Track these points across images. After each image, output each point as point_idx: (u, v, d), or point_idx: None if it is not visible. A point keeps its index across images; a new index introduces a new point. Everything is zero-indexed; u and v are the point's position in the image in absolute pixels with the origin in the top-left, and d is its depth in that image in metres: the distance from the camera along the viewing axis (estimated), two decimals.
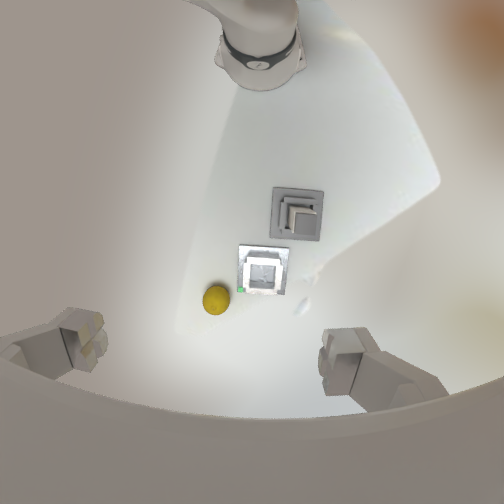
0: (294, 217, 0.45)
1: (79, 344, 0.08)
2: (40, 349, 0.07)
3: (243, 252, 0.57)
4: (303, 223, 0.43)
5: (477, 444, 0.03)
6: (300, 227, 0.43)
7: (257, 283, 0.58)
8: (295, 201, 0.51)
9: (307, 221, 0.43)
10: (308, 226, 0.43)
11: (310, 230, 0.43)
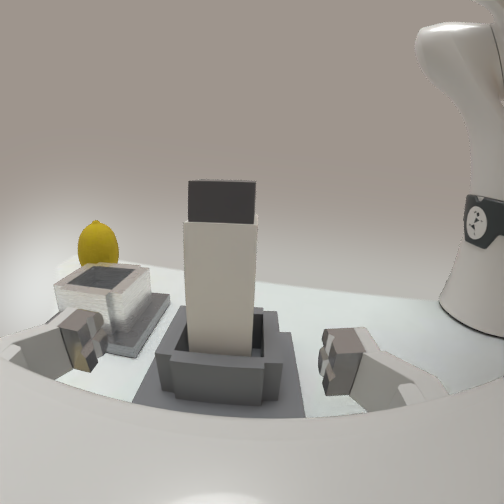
0: None
1: (79, 344, 0.08)
2: (40, 349, 0.07)
3: (154, 296, 0.28)
4: (229, 180, 0.15)
5: (477, 444, 0.03)
6: None
7: None
8: (268, 326, 0.18)
9: None
10: (220, 180, 0.14)
11: (207, 180, 0.14)
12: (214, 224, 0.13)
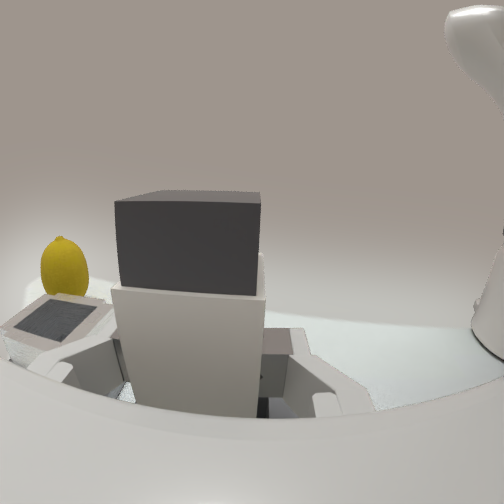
0: None
1: None
2: (91, 364, 0.07)
3: None
4: (207, 193, 0.08)
5: (477, 444, 0.03)
6: (188, 192, 0.08)
7: (47, 336, 0.17)
8: (276, 417, 0.10)
9: (218, 195, 0.07)
10: (186, 195, 0.07)
11: (158, 196, 0.06)
12: (171, 297, 0.06)
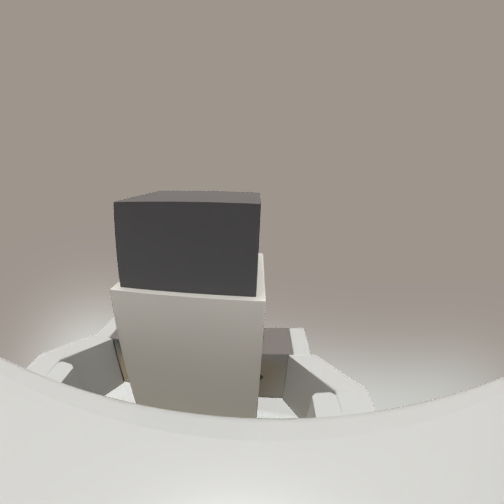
0: None
1: None
2: (91, 364, 0.07)
3: None
4: (207, 193, 0.07)
5: (477, 444, 0.03)
6: (187, 192, 0.08)
7: None
8: None
9: (217, 195, 0.07)
10: (185, 196, 0.07)
11: (157, 197, 0.06)
12: (170, 298, 0.06)
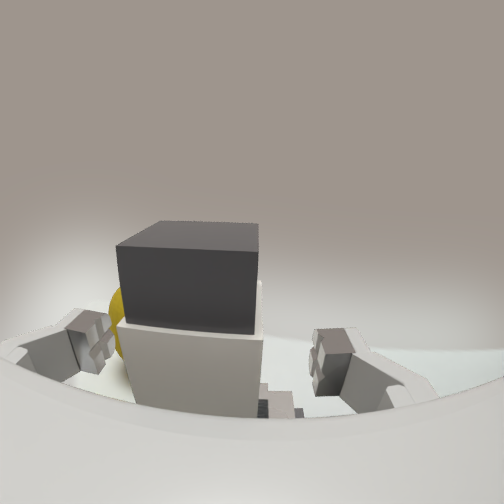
0: None
1: (87, 346, 0.08)
2: (47, 351, 0.07)
3: None
4: (207, 229, 0.08)
5: (477, 444, 0.03)
6: (187, 225, 0.08)
7: None
8: None
9: (216, 234, 0.07)
10: (185, 235, 0.07)
11: (158, 237, 0.07)
12: (174, 336, 0.06)
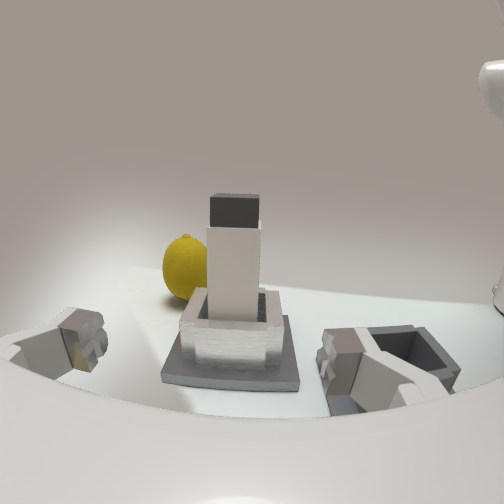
0: None
1: (79, 344, 0.08)
2: (40, 349, 0.07)
3: None
4: (239, 195, 0.20)
5: (477, 444, 0.03)
6: (230, 194, 0.20)
7: None
8: (429, 341, 0.17)
9: (244, 195, 0.19)
10: (232, 195, 0.19)
11: (223, 196, 0.19)
12: (229, 229, 0.18)
